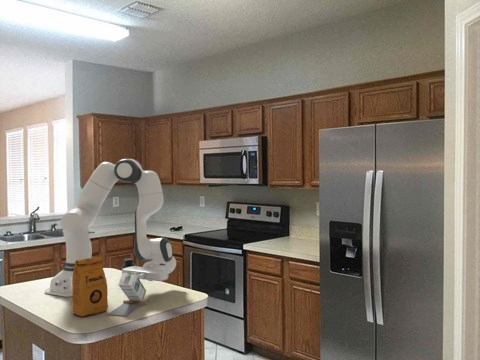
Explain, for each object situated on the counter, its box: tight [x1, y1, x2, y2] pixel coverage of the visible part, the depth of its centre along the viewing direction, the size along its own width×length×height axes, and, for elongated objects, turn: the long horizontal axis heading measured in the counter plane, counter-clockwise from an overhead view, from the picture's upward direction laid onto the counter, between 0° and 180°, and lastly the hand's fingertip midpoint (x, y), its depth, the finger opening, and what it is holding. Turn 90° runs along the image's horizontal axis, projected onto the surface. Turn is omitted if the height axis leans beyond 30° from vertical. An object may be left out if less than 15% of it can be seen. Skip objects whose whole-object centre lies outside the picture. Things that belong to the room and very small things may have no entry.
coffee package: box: [71, 255, 109, 317], centre depth 163 cm, size 10×12×22 cm
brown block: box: [122, 299, 147, 306], centre depth 173 cm, size 10×1×1 cm, turn 78°
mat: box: [106, 303, 142, 317], centre depth 166 cm, size 8×13×1 cm, turn 168°
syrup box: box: [118, 273, 147, 301], centre depth 172 cm, size 6×6×14 cm
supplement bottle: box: [121, 257, 137, 270], centre depth 206 cm, size 7×7×12 cm
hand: (133, 277), depth 173 cm, fingers closed
